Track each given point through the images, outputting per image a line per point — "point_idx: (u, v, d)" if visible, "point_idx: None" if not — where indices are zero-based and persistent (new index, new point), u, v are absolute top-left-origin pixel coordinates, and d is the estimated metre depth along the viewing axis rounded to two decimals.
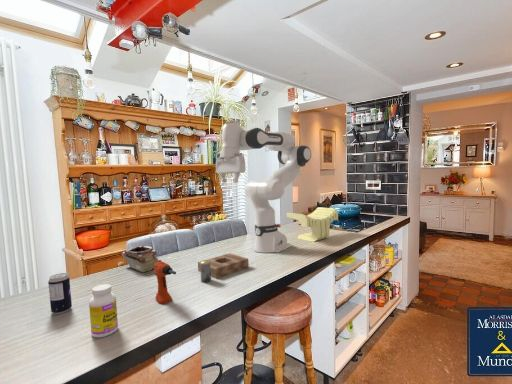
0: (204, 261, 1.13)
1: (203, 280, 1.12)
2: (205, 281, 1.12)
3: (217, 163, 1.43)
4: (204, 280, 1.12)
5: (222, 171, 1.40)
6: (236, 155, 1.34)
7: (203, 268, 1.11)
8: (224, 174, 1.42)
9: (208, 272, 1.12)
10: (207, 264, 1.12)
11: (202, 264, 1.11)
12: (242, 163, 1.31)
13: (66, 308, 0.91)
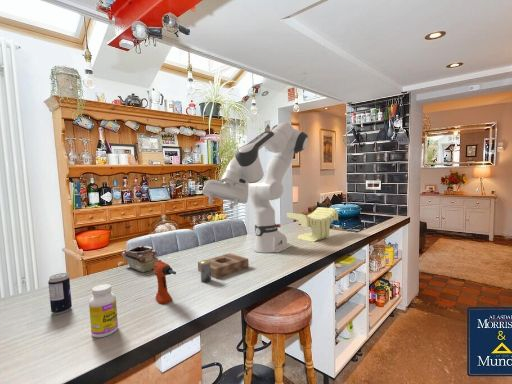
0: (204, 261, 1.13)
1: (203, 280, 1.12)
2: (205, 281, 1.12)
3: None
4: (204, 280, 1.12)
5: None
6: None
7: (203, 268, 1.11)
8: None
9: (208, 272, 1.12)
10: (207, 264, 1.12)
11: (202, 264, 1.11)
12: None
13: (66, 308, 0.91)
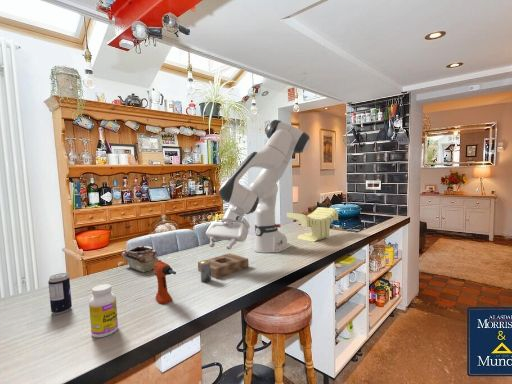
0: (204, 261, 1.13)
1: (203, 280, 1.12)
2: (205, 281, 1.12)
3: None
4: (204, 280, 1.12)
5: None
6: None
7: (203, 268, 1.11)
8: None
9: (208, 272, 1.12)
10: (207, 264, 1.12)
11: (202, 264, 1.11)
12: None
13: (66, 308, 0.91)
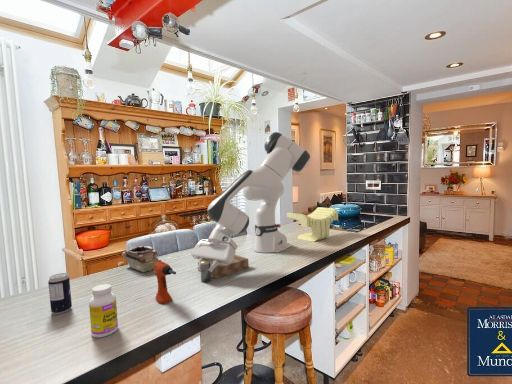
0: (204, 261, 1.13)
1: (203, 280, 1.12)
2: (205, 281, 1.12)
3: None
4: (204, 280, 1.12)
5: None
6: None
7: (203, 268, 1.11)
8: None
9: (208, 272, 1.12)
10: (207, 264, 1.12)
11: (202, 264, 1.11)
12: None
13: (66, 308, 0.91)
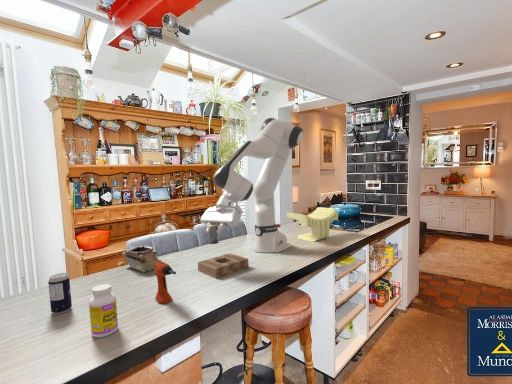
0: (212, 224, 1.22)
1: (211, 242, 1.21)
2: (213, 242, 1.21)
3: None
4: (212, 242, 1.21)
5: None
6: None
7: (211, 231, 1.20)
8: None
9: (216, 234, 1.21)
10: (214, 227, 1.21)
11: (210, 227, 1.20)
12: None
13: (66, 308, 0.91)
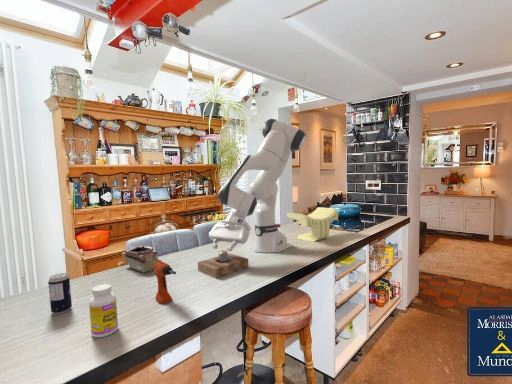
0: (222, 251, 1.26)
1: None
2: None
3: None
4: None
5: None
6: None
7: (221, 258, 1.24)
8: None
9: (226, 261, 1.25)
10: (225, 254, 1.25)
11: (220, 254, 1.24)
12: None
13: (66, 308, 0.91)
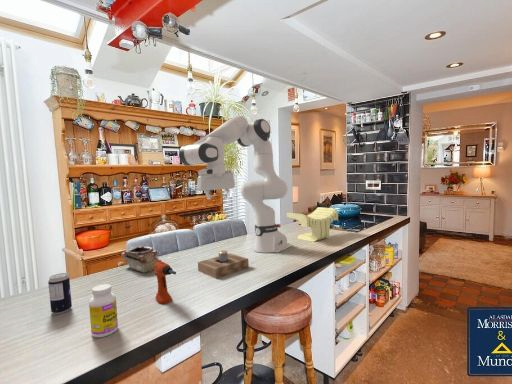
0: (222, 251, 1.26)
1: None
2: None
3: (204, 179, 1.31)
4: None
5: (211, 188, 1.34)
6: (225, 172, 1.41)
7: (221, 258, 1.24)
8: None
9: (226, 261, 1.25)
10: (225, 254, 1.25)
11: (220, 254, 1.24)
12: None
13: (66, 308, 0.91)
